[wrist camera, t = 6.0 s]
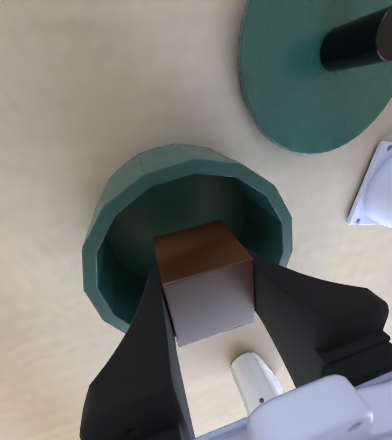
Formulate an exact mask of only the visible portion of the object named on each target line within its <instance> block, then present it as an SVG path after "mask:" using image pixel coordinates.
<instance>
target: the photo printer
mask: <svg viewBox="0 0 392 440" xmlns="http://www.w3.org/2000/svg"><path fill="white" fill-rule="evenodd" d="M230 368H231V372H232V375H233V378H234V381H235V383H236V386H237V389H238V391H239V394H240V397H241V399H242V402H243V404H244V407H245V410H246V412H247V415H248V416H250V414H251V413H252V412H253V411H254V410H255V409H256V408H257V407H258V406H259V405H260V404H262V403H264V402H266V401H268V400H269V399H271V398H274V397H276V396H279V395H281V394H284V393H285V392H284V391H283V389H282V387H281V385H280V383H279V382H278V380H277V378H276V377H275V376H274V374H273V373H272V371H271V370H270V369H269V368H268V366H267V365H266V364H265V363H264V361H263V360H262V359H261V358H260V357H259V356H258V355H257V354H256V353H254V352H253V353H250V352H247V353H244V354H242V355H240V356H238V357H237V358H236V359H235V360H234V361H233V362H232V366H231V367H230Z"/></svg>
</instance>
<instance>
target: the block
mask: <svg viewBox="0 0 392 440" xmlns="http://www.w3.org/2000/svg"><path fill="white" fill-rule="evenodd" d="M153 242H154V247H155V252H156V257H157V263H158V268H159V273H160V278H161V284H162V288H163V291H164V295H165V299H166V302H167V306H168V309H169V313H170V316H171V320H172V324H173V327H174V331H175V334H176V338H177V342H178V345H179V347H181V346H184V345H187V344H190V343H193V342H196V341H199V340H202V339H204V338H207V337H210V336H213V335H216V334H219V333H222V332H225V331H228V330H231V329H234V328H237V327H240V326H242V325H245V324H248V323H251V322H254V321H255V300H254V267H253V258H252V257H251V255H250V254H249V253H248V252H247V251H246V249H245V248H244V247H243V246H242V245H241V243H240V242H239V241H238V240H237V239H236V237H235V236H234V235H233V234H232V233H231V231H230V230H229V229H228V228H227V227H226V226H225V224H224V223H223V222H222V221H221V220H218V221H214V222H210V223H206V224H203V225H199V226H195V227H191V228H187V229H183V230H179V231H175V232H171V233H167V234H163V235H159V236H155V237H153Z"/></svg>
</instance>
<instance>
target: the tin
mask: <svg viewBox="0 0 392 440" xmlns="http://www.w3.org/2000/svg"><path fill="white" fill-rule="evenodd" d="M218 220H221V221H222V222H223V223H224V224H225V226H226V227H227V228H228V229H229V230H230V231H231V233H232V234H233V235H234V236H235V237H236V239H237V240H238V241H239V242H240V243H241V245H243V246H244V247H246V248H248V249H250V250H252V251H253V252H255V253H257V254H259V255H260V256H262V257H264V258H266V259H268V260H270V261H272V262H274V263H276V264H279V265H281V266H283V267H285V268H286V266H287V264H288V261H289V258H290V255H291V253H292V218H291V215H290V213H289V211H288V209H287V207H286V206H285V204H284V202H283V200H282V198H281V196H280V194H279V193H278V191H277V189H276V187H275V186H274V185H273V184H271V183H270V182H268V181H267V180H265V179H264V178H262V177H261V176H259V175H258V174H256V173H255V172H253V171H252V170H250V169H248V168H247V167H245V166H244V165H242V164H240V163H238V162H236V161H234V160H232V159H230V158H228V157H226V156H224V155H222V154H220V153H217V152H215V151H213V150H211V149H209V148H203V147H197V146H192V145H181V144H171V145H167V146H162V147H157V148H154V149H151V150H149V151H146V152H143V153H140V154H139V155H137V156H136V157H134V158H133V159H131V160H130V161H129V162H127V163H126V164H124V165H123V166H122V167H121V168H120V169H119V170H118V171H117V172H116V173H115V174H114V175H113V176H111V178H110V179H109V181H108V183H107V185H106V187H105V189H104V191H103V193H102V196H101V198H100V200H99V202H98V204H97V206H96V209H95V212H94V215H93V218H92V221H91V224H90V227H89V230H88V233H87V236H86V239H85V242H84V245H83V249H82V265H83V288H84V291H85V293H86V294H87V296H88V298H89V299H90V301H91V302H92V304H93V305H94V307H95V309H96V310H97V312H98V313H99V315H100V316H101V318H102V319H103V320H104V321H105V322H107V323H109V324H110V325H112V326H114V327H115V328H117V329H119V330H120V331H122V332H124V333H125V334H126V332H127V330H128V329H129V327H130V325H131V323H132V321H133V319H134V316H135V314H136V312H137V309H138V307H139V304H140V301H141V299H142V296H143V293H144V289H145V286H146V282H147V277H148V271H149V269H152V268H155V267H158V263H157V257H156V252H155V247H154V242H153V237H155V236H159V235H163V234H167V233H171V232H175V231H179V230H183V229H187V228H191V227H195V226H199V225H203V224H206V223H210V222H214V221H218ZM174 335H175V343H176V342H177V338H176V334H175V331H174Z"/></svg>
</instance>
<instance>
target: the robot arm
mask: <svg viewBox="0 0 392 440" xmlns="http://www.w3.org/2000/svg"><path fill="white" fill-rule="evenodd" d="M347 223H348V224H350V225H385V226H387V227H390V228H392V142H388V141H382V142H380V143H379V145H378V146H377V149H376V151H375V154H374V156H373V158H372V161H371V163H370V166H369V168H368V170H367V173H366V175H365V178H364V180H363V182H362V185H361V187H360V190H359V192H358V195H357V197H356V199H355V202H354V204H353V207H352V209H351V211H350V214H349V216H348V219H347ZM242 246H243V245H242ZM243 247H244V246H243ZM244 248H245V249H246V251H247V252H248V253H249V254H250V255H251V257H252V258H253V267H254V300H255V311H256V313H257V314H258V316H259V317H260V319H261V320H262V322H263V324H264V325H265V327H266V329H267V331H268V333H269V335H270V336H271V338H272V340H273V342H274V344H275V346H276V348H277V350H278V352H279V354H280V356H281V358H282V360H283V362H284V364H285V366H286V368H287V370H288V372H289V374H290V376H291V378H292V380H293V382H294V385H295V387H296V389H293V390H291V391H288V392H286V393H284V394H281V395H279V396H276V397H274V398H271V399H269V400H268V401H266V402H264V403H262V404H260V405H259V406H258V407H257V408H256V409H255V410H254V411H253V412H252V413H251V414H250V416H248V417H246V418H243V419H241V420H238V421H236V422H233V423H231V424H229V425H226V426H224V427H221V428H219V429H217V430H214V431H212V432H209V433H207V434H205V435H202V436H200V437H197V438H195V436H194V431H193V426H192V422H191V417H190V413H189V408H188V404H187V399H186V394H185V390H184V385H183V380H182V376H181V371H180V366H179V361H178V357H177V351H176V344H175V335H174V327H173V324H172V320H171V316H170V313H169V309H168V306H167V302H166V299H165V295H164V291H163V288H162V284H161V278H160V273H159V268H158V267H155V268H152V269H149V271H148V277H147V282H146V286H145V289H144V293H143V296H142V299H141V301H140V304H139V307H138V309H137V312H136V314H135V316H134V319H133V321H132V323H131V325H130V327H129V329H128V330H127V332H126V334H125V336H124V338H123V339H122V341H121V343H120V344H119V346H118V347H117V349H116V350H115V352H114V353H113V355H112V356H111V358H110V359H109V361H108V362H107V364H106V365H105V366H104V368H103V369H102V370H101V371H100V373H99V374H98V375H97V377H96V378H95V379H94V380H93V382H92V383H91V384H90V386H89V389H88V392H87V396H86V400H85V403H84V407H83V413H82V420H81V427H80V438H81V440H392V344H391V343H390V342H389V341H390V339H391V338H390V336H389V335H388V334H386V333H385V332H384V331H383V328H384V325H385V323H386V320H387V317H388V313H389V309H388V305H387V303H386V302H385V301H384V300H382V299H381V298H380V297H378V296H377V295H376V294H374V293H373V292H372V291H370V290H369V289H367V288H363V287H356V286H350V285H343V284H338V283H334V282H329V281H325V280H321V279H317V278H314V277H310V276H307V275H304V274H301V273H298V272H296V271H293V270H290V269H288V268H285V267H283V266H281V265H279V264H276V263H274V262H272V261H270V260H268V259H266V258H264V257H262V256H260V255H259V254H257V253H255V252H253V251H252V250H250V249H248V248H246V247H244Z"/></svg>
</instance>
